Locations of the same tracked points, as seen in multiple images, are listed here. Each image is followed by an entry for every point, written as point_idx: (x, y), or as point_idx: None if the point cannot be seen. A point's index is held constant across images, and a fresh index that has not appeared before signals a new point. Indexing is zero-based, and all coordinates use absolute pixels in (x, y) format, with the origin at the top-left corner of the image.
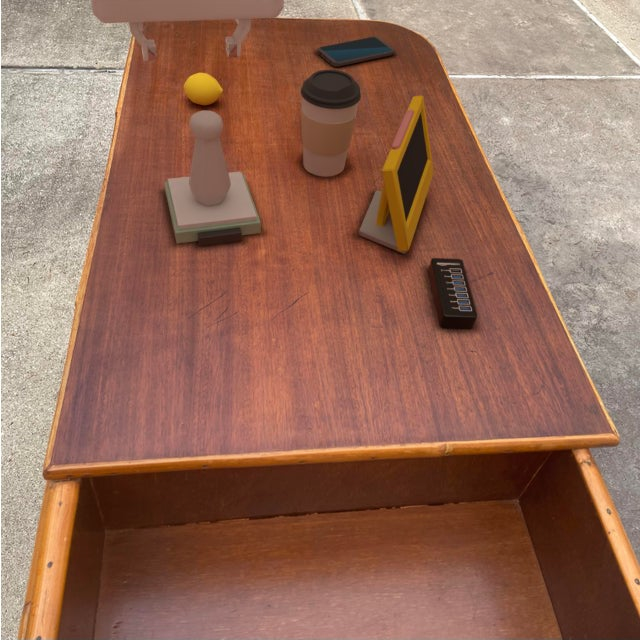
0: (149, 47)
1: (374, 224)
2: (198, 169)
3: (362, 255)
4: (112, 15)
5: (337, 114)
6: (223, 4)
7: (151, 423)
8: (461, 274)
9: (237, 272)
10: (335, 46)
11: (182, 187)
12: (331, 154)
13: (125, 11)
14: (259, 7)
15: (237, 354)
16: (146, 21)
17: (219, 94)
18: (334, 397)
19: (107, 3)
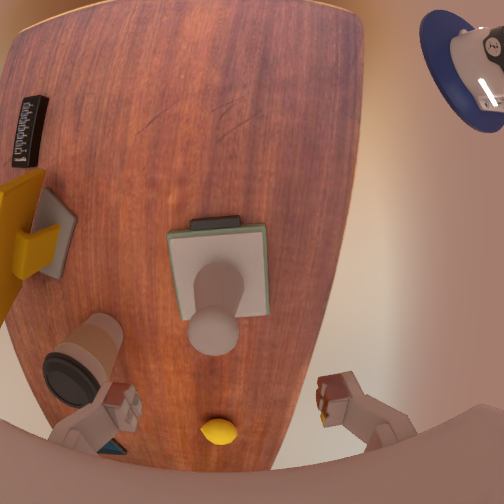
0: (346, 397)
1: (61, 226)
2: (231, 286)
3: (78, 187)
4: (475, 424)
5: (63, 349)
6: (89, 496)
7: (299, 19)
8: (16, 146)
9: (202, 169)
10: (113, 452)
11: (251, 298)
12: (87, 324)
13: (450, 449)
14: (9, 449)
15: (219, 63)
16: (381, 448)
17: (204, 425)
18: (149, 24)
19: (498, 442)
